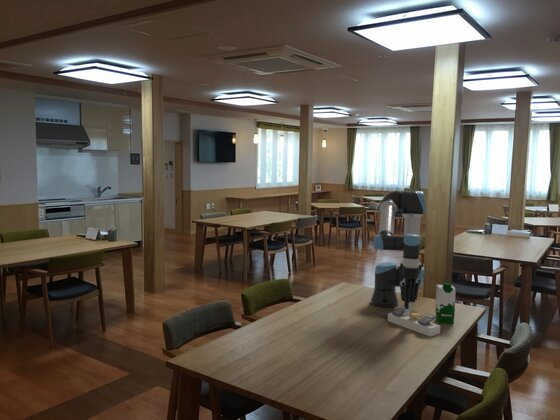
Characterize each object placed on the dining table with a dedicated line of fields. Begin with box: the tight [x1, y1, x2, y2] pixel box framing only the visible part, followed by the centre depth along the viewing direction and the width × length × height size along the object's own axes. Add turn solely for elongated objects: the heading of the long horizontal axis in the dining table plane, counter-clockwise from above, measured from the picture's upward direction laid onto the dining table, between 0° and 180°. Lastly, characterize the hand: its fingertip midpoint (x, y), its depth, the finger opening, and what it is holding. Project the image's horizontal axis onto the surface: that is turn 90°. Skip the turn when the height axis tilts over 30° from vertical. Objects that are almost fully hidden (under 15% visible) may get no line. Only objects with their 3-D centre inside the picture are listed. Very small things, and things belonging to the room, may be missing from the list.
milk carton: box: [435, 282, 457, 325], centre depth 236 cm, size 9×9×20 cm
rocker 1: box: [391, 305, 405, 316], centre depth 234 cm, size 8×4×1 cm, turn 124°
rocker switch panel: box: [379, 311, 441, 338], centre depth 231 cm, size 7×34×5 cm, turn 34°
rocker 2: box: [404, 312, 423, 319], centre depth 227 cm, size 8×4×1 cm, turn 124°
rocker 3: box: [418, 313, 437, 325], centre depth 220 cm, size 8×4×1 cm, turn 124°
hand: (408, 314), depth 225 cm, fingers closed
